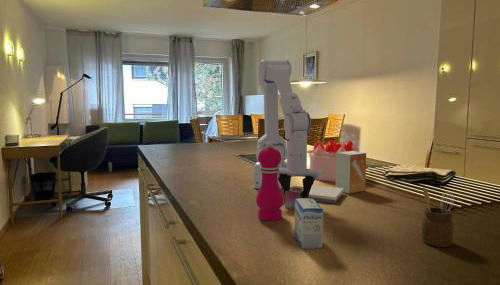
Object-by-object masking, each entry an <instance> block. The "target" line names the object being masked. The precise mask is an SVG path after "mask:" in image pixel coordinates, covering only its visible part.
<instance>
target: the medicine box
mask: <svg viewBox="0 0 500 285" xmlns="http://www.w3.org/2000/svg"><path fill="white" fill-rule="evenodd" d="M323 229H324V209H323V208H322V207H321V205H320V204H319V203H318V201H315V200H314V199H310V198H301V199H295V209H294V230H293V231H294V233H293V234H294V236H295V239H296V240H297V242H298V243H299V245H300V247H301V249H302V250H306V249H307V250H312V249H311V248H317V249H323V241H324V240H323V239H324V238H323V237H324V236H323V233H324V232H323V231H324V230H323Z"/></svg>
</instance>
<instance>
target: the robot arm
mask: <svg viewBox="0 0 500 285" xmlns="http://www.w3.org/2000/svg"><path fill="white" fill-rule="evenodd" d="M257 69H258V73H257V74H258V76H257V78H258V85H259V86H261V87H262V88H263V110H264V112H263V113H264V116H263V118H264V119H263V120H264V134H263V135H262V136H261V137H260V138H258V140H257V141H256V149H255V155H256V157H255V158H256V160H257V162H256V163H255V164H254V165H253V166H254V167H253V186H252V188H253V189H258V190H259V189H260V187H261V183H262V172H260V170H261V168H260V166H261V164H260V163H259V161H258V155H259V152H260V151H261V150H262V149H264V148H267V146H266V144H267V142H272V143H273V147H272V148H275V149H277V150H278V151H279V152H280V154H281V162H280V163H279V164H278V166H279V172H278V175H277V179H278V185H279V188H280V190H281V189H282V191H283V196H285V191H286V190H287V189H289V188H291V182H292V180H291V179H292V177H303V178H302V187H303V190H304V193H303V198H308V197H309V193H310V190H311V187H312V185H314V182H315V181H316V180H317V179H321V178H322V171H318V170H312V169H310V168H308V167H307V166H308V162H307V161H308V159H307V158H308V156H307V155H308V133H309V132H310V131H311V126H312V119H311V115H310V113H309V112H307V111H306V110H305V109H304V108H303V106H302V104H301V101H300V98H299V96H298V94H297V93H295V92H293V87H292V83H291V74H292V70H293V69H292V63H291V61H290V60H289V59H285V60H284V59H283V60H282V59H264V58H263V59H261V60H260V61H259V64H258V68H257ZM279 94H280V96H281V97H280V98H279ZM279 104H280V107H281V111H282V114H283V116H284V118H283V129H284V134H285V135H284V137H285V138H283V137H282V136H281V135H280V134H279V133H280V131H279ZM285 139H286V140H285ZM284 161H286V167H283V166H282V164H283V163H284ZM316 178H317V179H316Z"/></svg>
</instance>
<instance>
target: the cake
mask: <svg viewBox="0 0 500 285" xmlns="http://www.w3.org/2000/svg"><path fill="white" fill-rule="evenodd" d="M325 146H326V147H324V143H322V141H321V140H320V141H316V142H315V144H314V146H313V149H312V152H311V153H310V154H309V169H312V170H318V171H322V178H321V179H317V178H316V179H315V180H319V181H323V182H331V183H332V182H335V183H336V153H340V152H348V151H357V152H360V150H359V148H358V147H357V146H356V144H355V143H354V142H353V141H352V140H348V141H346V143H345V140H343V141H342V143H340V142H335V141H334V139H330V140H328V142H327V143H326V145H325Z"/></svg>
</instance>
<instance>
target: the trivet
mask: <svg viewBox="0 0 500 285" xmlns="http://www.w3.org/2000/svg"><path fill="white" fill-rule="evenodd" d="M343 191H344V188H336V186H335V187H333V186H326V185H325V186H323V185H314V184H313V185H312V187H311V190H310V193H309V197H308V198H310V199H314V200H315V201H316V202H317V203H318V202H320V203H330V204H335V203H336V202H337V201H338V200H339V199H340V197H342V195H343V193H344V192H343Z"/></svg>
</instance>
